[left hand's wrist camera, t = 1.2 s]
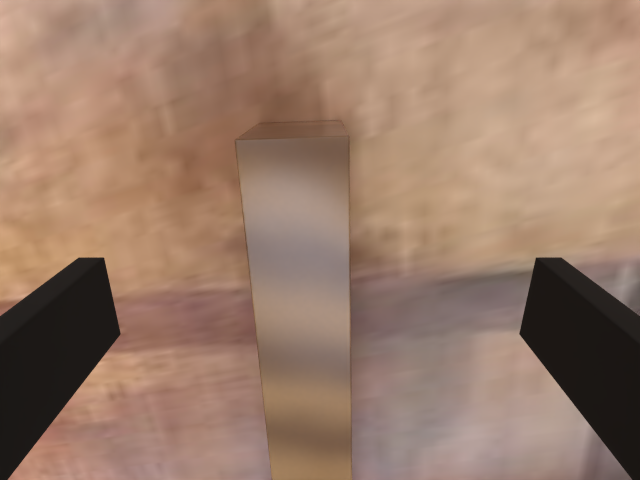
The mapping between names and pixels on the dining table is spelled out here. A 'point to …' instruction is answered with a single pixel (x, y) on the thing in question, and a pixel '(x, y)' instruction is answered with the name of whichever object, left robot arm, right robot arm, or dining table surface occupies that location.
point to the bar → (301, 291)
